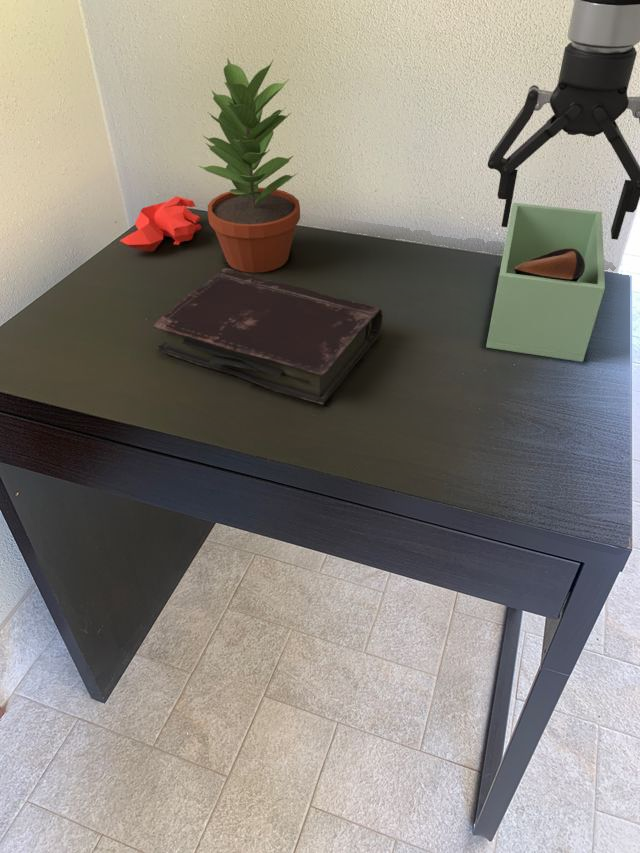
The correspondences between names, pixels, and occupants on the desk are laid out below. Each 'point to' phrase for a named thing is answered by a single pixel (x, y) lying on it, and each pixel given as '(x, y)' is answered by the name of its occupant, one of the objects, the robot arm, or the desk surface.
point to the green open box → (548, 284)
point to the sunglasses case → (555, 265)
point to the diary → (271, 333)
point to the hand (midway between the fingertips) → (558, 229)
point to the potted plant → (250, 178)
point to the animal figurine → (163, 224)
